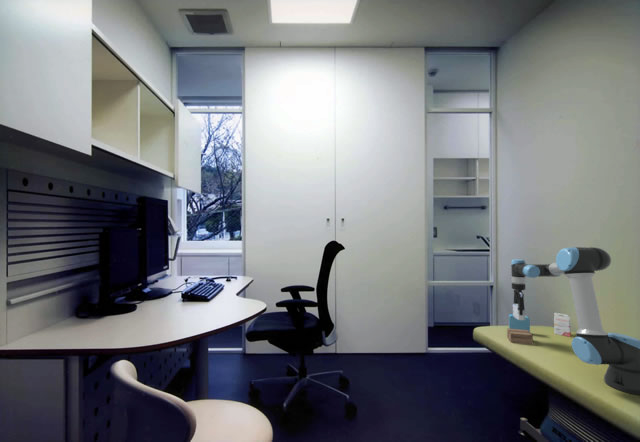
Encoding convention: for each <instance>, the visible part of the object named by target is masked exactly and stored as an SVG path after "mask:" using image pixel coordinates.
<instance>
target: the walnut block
mask: <svg viewBox="0 0 640 442" xmlns="http://www.w3.org/2000/svg"><path fill="white" fill-rule="evenodd" d="M506 337H507V339H508V341H509V342H510V343H513V344H520V345H521V344H522V345H531V346H532V345H534V340H533V339H534V337H533V334H532V333H531V331H530V332H529V331H528V330H519V329H509V327H507V328H506Z"/></svg>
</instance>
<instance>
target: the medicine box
mask: <svg viewBox="0 0 640 442" xmlns="http://www.w3.org/2000/svg"><path fill="white" fill-rule="evenodd" d="M517 309H519V308H518V304H514V303H512V314H513V317H515V318H516V319H518V310H517ZM525 316H526V306H524V310H523V320H525Z"/></svg>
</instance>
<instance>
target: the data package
mask: <svg viewBox="0 0 640 442" xmlns="http://www.w3.org/2000/svg"><path fill="white" fill-rule="evenodd" d="M530 320H531V319H530V317H529V316H527V315H525V320H518V319H516V318H515V317H513V313H511V314H510V313H509V315H508V328H509V329H519V330H528V331H529V332H530V333H531V321H530Z"/></svg>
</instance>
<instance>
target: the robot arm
mask: <svg viewBox="0 0 640 442" xmlns="http://www.w3.org/2000/svg"><path fill="white" fill-rule="evenodd" d="M611 263H612V258H611V256H610V253H608V252H607V251H606V250H604V249H603V248H600V247H579V246H578V247H577V246H576V247H574V246H573V247H564V248H562V249H560V250H559V251H558V252H557V254H556V258H555V262H552V263H547V264H546V263H545V264H541V263H540V264H537V263H536V264H535V263H532V264H531V263H529V264H528V263H526V261H525V259H518V258H515V259H512V260H511V263H510V264H511V265H510V267H511V277H510V279H511V289H513V304H518V308H519V309H517V310H518V320H523V310H524V307H525V297H524V296H525V295H524V292H523V291H525V290H526V277H528V278H533V279H534V278H537V277H538V278H540V277H541V278H543V277H544V278H546V277H548V278H550V277H551V278H555V277H561V275H564V276H565V277H567V278H568V279H569V280H568V281H569V284H570V290H571V295H572V299H573V300H572V301H573V304H574V310H575V316H576V320H577V325H578V329H577V330H576V331H575V335H576V336H575V337H573V338H572V341H571V347H572V350H573V353H574V354H575V356H576V357H577V358H578V359H579V360H580V361H581V362H583V363H585V364H589V365H597V366H599V365H608V367H607V369H606V371H605V373H604V376H603V378H604V379H603V381H604V383H605V384H606V385H607V386H609V387H611V388H613V389H616V390H618V391H621V392H624V393H628V394H630V395H631V394H632V395H639V396H640V339H638V338H635V337H633V336H629V335H626V334H622V333H616V332H608V333H607V331H605V330H604V329H603V324H602V319H601V316H600V310H599V305H598V300H597V297H596V296H597V295H596V291H595V288H594V286H595V285H594V283H593V277H594V276H595V274H596V272H597V271H599V272H600V271H603V270H606V269H608V268H609V267H610V265H611Z"/></svg>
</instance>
